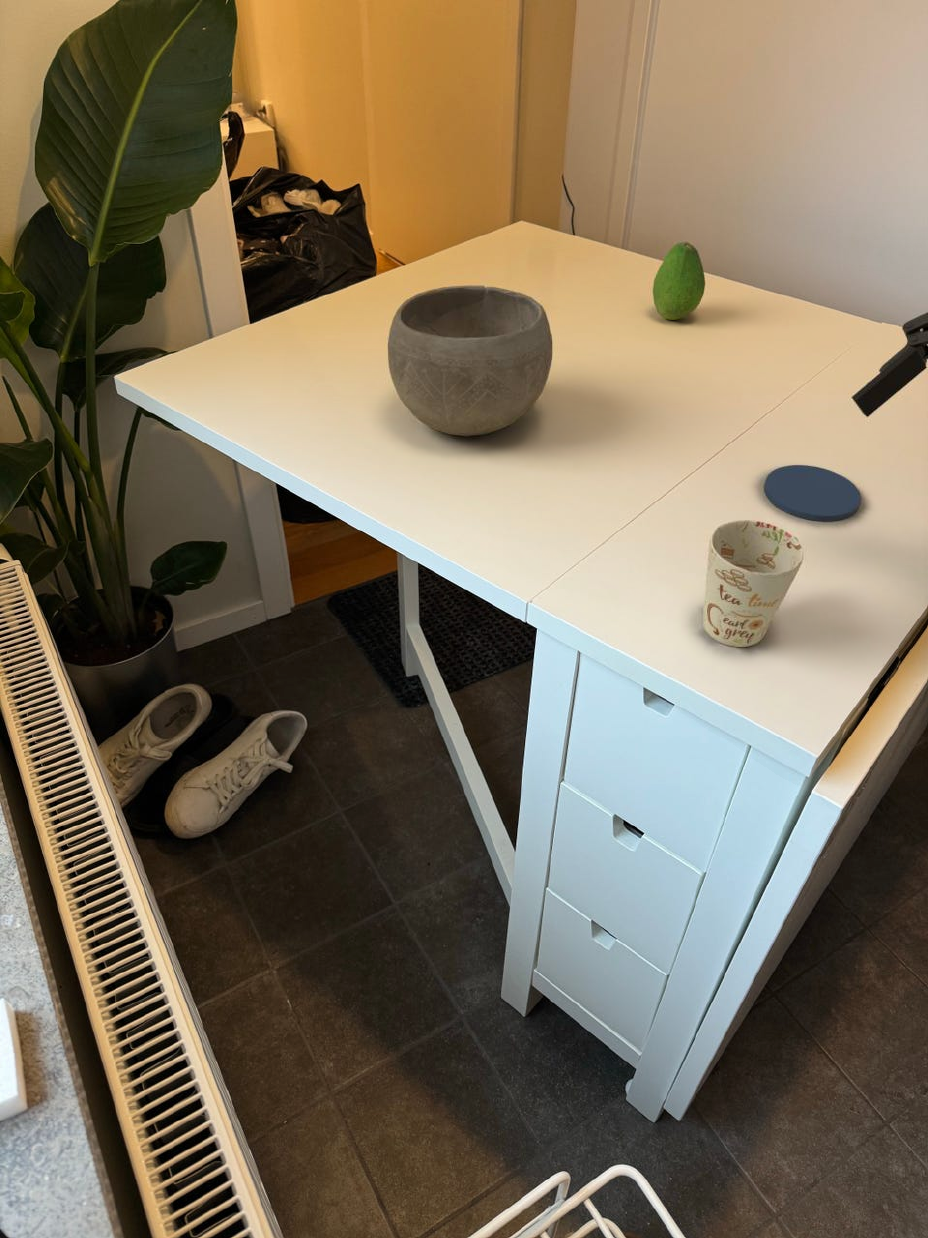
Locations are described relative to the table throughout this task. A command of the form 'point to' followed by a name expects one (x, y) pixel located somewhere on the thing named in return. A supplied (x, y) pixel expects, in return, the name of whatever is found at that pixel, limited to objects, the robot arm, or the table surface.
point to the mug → (747, 579)
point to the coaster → (812, 493)
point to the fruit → (679, 282)
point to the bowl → (469, 357)
